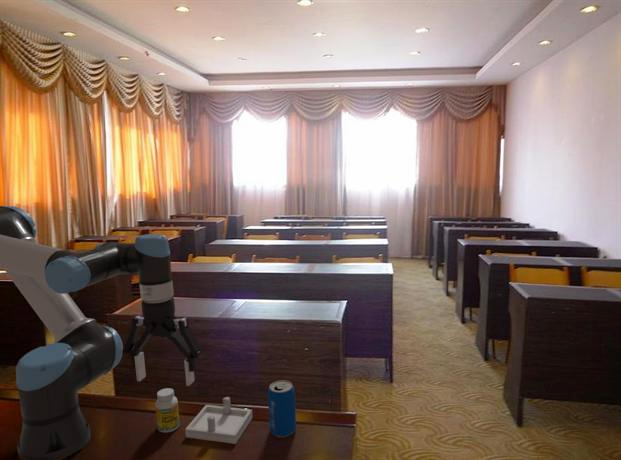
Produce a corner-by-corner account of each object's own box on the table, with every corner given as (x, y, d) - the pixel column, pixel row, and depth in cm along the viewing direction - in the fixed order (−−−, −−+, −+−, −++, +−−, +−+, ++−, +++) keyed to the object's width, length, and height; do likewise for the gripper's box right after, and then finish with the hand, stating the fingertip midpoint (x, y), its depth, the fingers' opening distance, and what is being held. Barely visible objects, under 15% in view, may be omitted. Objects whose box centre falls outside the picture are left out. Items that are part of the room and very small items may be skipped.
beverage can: (264, 432, 111) (262, 386, 109) (283, 420, 116) (281, 376, 114) (282, 442, 107) (280, 395, 105) (301, 430, 112) (299, 385, 110)
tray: (186, 437, 110) (184, 417, 109) (206, 412, 121) (205, 394, 120) (235, 443, 107) (234, 423, 106) (252, 417, 117) (251, 399, 117)
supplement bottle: (176, 418, 118) (173, 384, 117) (182, 428, 114) (179, 393, 112) (155, 425, 115) (151, 390, 114) (160, 436, 111) (157, 400, 109)
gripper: (102, 301, 108) (112, 384, 112) (197, 305, 102) (204, 392, 106) (122, 292, 115) (131, 370, 119) (212, 295, 109) (218, 377, 113)
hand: (165, 381), depth 112 cm, fingers open, 13 cm apart
